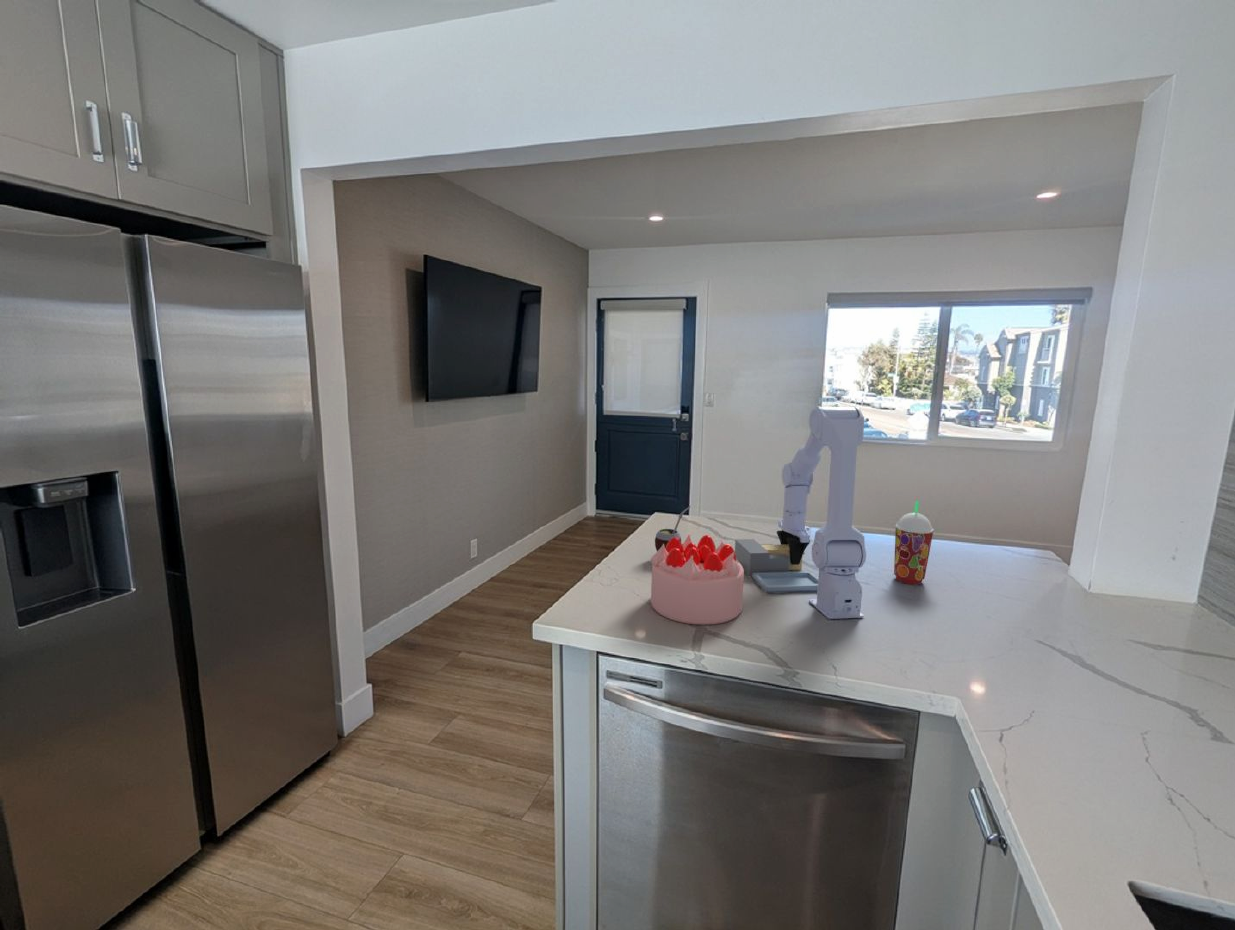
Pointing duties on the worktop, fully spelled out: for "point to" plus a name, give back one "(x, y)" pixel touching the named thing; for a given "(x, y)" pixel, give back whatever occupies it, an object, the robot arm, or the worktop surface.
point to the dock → (759, 558)
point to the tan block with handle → (783, 550)
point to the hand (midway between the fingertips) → (791, 561)
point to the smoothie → (912, 547)
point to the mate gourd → (667, 534)
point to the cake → (697, 582)
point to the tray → (787, 581)
